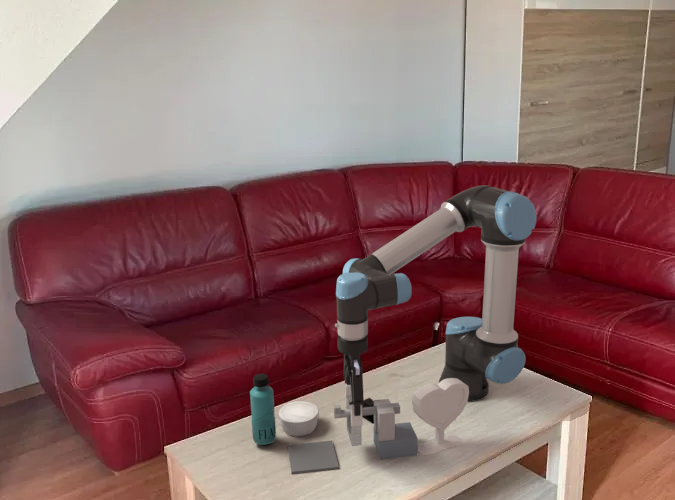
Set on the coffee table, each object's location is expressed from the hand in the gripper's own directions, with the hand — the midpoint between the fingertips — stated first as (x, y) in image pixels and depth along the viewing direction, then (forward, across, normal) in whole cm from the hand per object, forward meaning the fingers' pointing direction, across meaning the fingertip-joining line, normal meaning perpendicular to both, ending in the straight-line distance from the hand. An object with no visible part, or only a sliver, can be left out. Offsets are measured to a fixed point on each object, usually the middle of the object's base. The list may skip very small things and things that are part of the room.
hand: (353, 415), depth 173 cm
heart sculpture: (+11, 0, +23) cm, 26 cm away
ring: (+6, 0, 0) cm, 6 cm away
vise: (+11, 0, +6) cm, 12 cm away
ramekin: (+11, -15, -13) cm, 23 cm away
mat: (+11, 0, -11) cm, 16 cm away
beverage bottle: (+11, -9, -23) cm, 27 cm away
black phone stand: (+12, -18, +8) cm, 23 cm away
